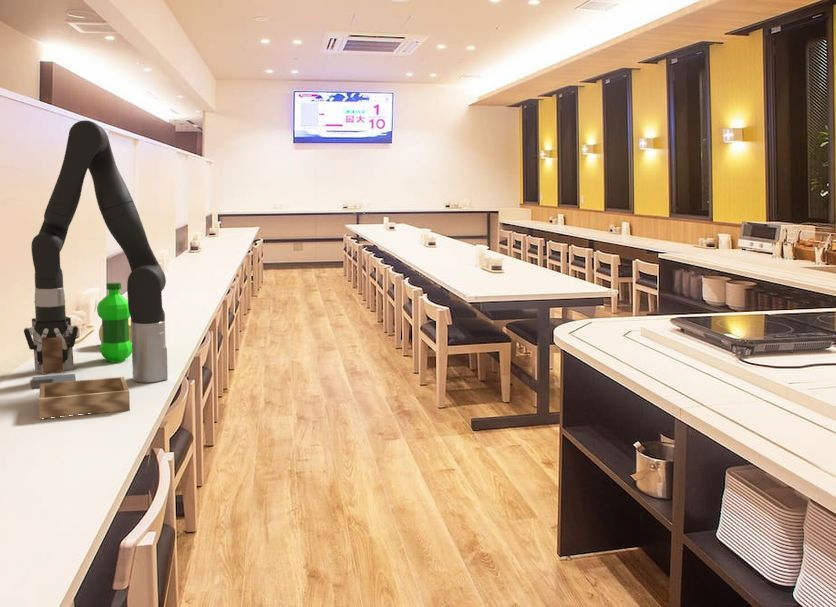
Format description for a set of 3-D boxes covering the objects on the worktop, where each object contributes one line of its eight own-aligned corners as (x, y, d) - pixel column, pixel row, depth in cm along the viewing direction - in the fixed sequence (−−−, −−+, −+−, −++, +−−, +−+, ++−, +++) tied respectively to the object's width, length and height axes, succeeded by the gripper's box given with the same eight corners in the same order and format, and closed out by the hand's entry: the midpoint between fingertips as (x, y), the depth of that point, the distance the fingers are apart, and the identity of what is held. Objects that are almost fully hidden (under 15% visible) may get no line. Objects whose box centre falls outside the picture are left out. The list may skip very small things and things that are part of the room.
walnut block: (63, 368, 207) (61, 334, 205) (63, 372, 202) (61, 337, 201) (43, 369, 205) (41, 335, 203) (43, 373, 200) (41, 338, 199)
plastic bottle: (139, 357, 236) (137, 281, 232) (123, 364, 226) (120, 286, 222) (110, 355, 237) (107, 280, 233) (93, 363, 227) (89, 284, 223)
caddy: (124, 394, 193) (124, 376, 193) (129, 410, 180) (129, 391, 179) (41, 402, 185) (40, 383, 184) (40, 419, 171) (38, 399, 171)
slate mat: (75, 375, 211) (75, 373, 211) (76, 385, 202) (76, 382, 201) (32, 379, 206) (32, 377, 206) (31, 388, 197) (31, 386, 197)
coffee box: (64, 365, 223) (62, 314, 220) (74, 369, 219) (71, 317, 216) (33, 370, 216) (30, 318, 213) (43, 374, 212) (40, 320, 209)
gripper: (78, 300, 207) (80, 358, 210) (21, 302, 201) (24, 361, 203) (78, 304, 200) (81, 363, 203) (20, 306, 194) (23, 367, 197)
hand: (52, 362), depth 203 cm, fingers closed on walnut block, 5 cm apart
